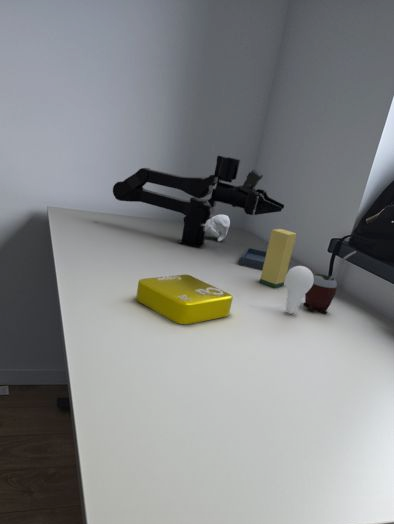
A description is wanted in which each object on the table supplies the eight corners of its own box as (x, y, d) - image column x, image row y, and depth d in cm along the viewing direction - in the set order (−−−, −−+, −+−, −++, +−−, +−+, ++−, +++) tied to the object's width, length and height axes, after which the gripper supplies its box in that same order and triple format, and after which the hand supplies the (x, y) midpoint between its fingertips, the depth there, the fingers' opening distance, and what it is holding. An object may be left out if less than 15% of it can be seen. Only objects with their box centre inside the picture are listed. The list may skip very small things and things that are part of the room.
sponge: (259, 282, 130) (271, 229, 124) (268, 280, 134) (280, 228, 128) (274, 288, 128) (288, 234, 122) (283, 285, 131) (297, 233, 126)
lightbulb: (305, 313, 113) (318, 267, 109) (301, 321, 108) (315, 272, 103) (279, 306, 114) (291, 260, 110) (274, 313, 109) (287, 265, 105)
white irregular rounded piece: (231, 217, 164) (195, 213, 164) (228, 242, 167) (193, 239, 167) (230, 214, 170) (195, 210, 170) (227, 238, 173) (193, 235, 173)
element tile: (184, 291, 112) (187, 271, 110) (232, 316, 103) (237, 294, 101) (131, 298, 101) (134, 276, 100) (180, 326, 93) (185, 302, 91)
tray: (239, 264, 144) (241, 256, 143) (246, 254, 158) (247, 247, 157) (283, 274, 142) (285, 267, 141) (286, 263, 156) (288, 256, 155)
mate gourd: (294, 306, 117) (311, 243, 111) (311, 301, 122) (328, 242, 116) (322, 317, 113) (341, 253, 106) (338, 312, 118) (357, 251, 112)
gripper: (233, 167, 137) (288, 181, 135) (243, 167, 154) (292, 179, 151) (224, 208, 141) (277, 222, 139) (234, 203, 158) (282, 215, 156)
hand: (282, 208), depth 146 cm, fingers open, 9 cm apart
